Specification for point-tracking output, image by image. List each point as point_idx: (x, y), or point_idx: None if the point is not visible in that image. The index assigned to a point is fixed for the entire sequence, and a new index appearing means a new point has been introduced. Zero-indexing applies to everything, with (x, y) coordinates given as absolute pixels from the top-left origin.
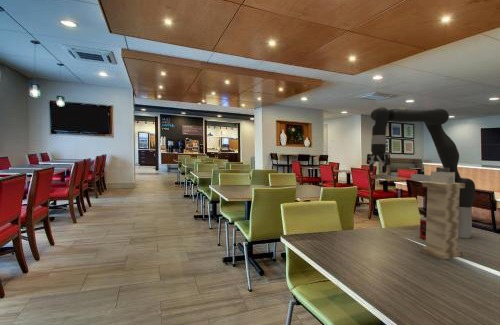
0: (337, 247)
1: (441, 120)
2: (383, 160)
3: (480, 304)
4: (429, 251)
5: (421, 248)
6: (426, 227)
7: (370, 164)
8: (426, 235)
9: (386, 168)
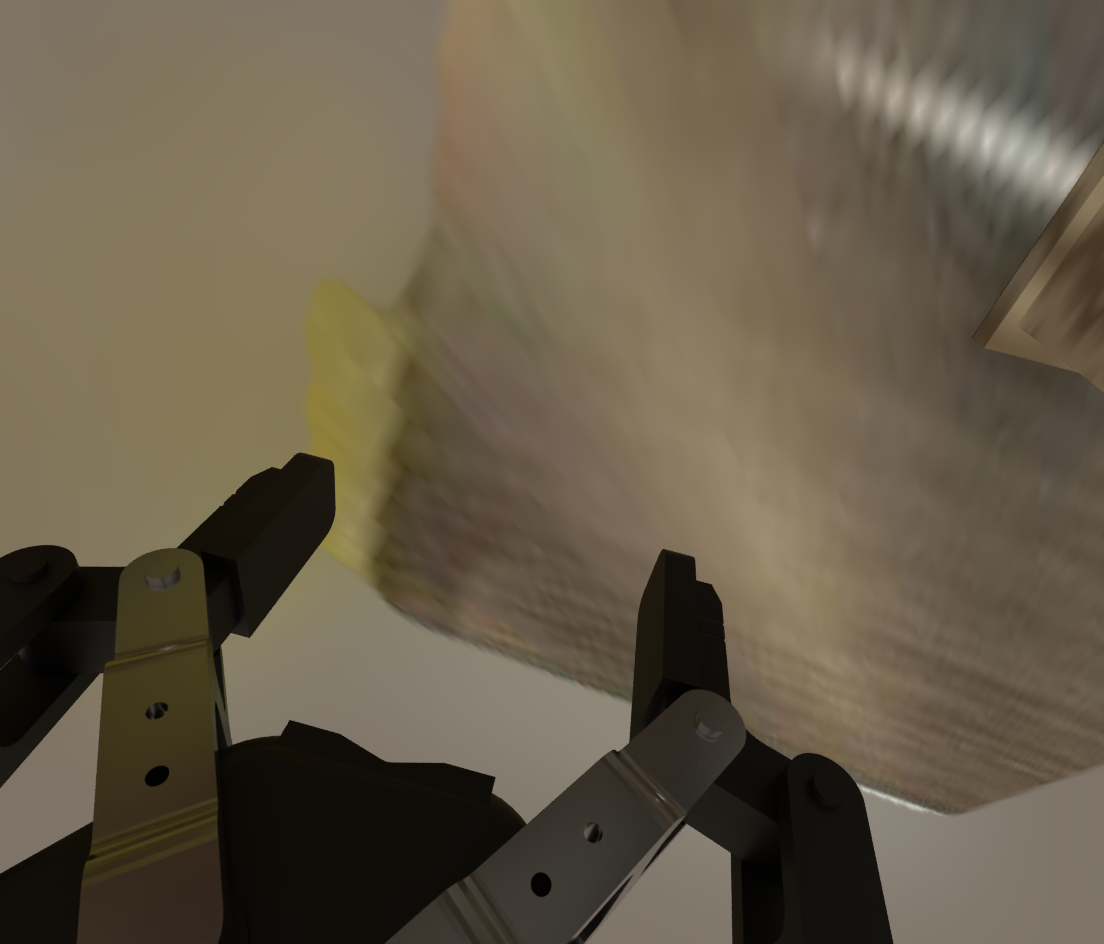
0: (612, 574)
1: None
2: (560, 841)
3: None
4: (1041, 362)
5: (989, 348)
6: (1100, 389)
7: (220, 662)
8: (1066, 361)
9: (723, 660)
